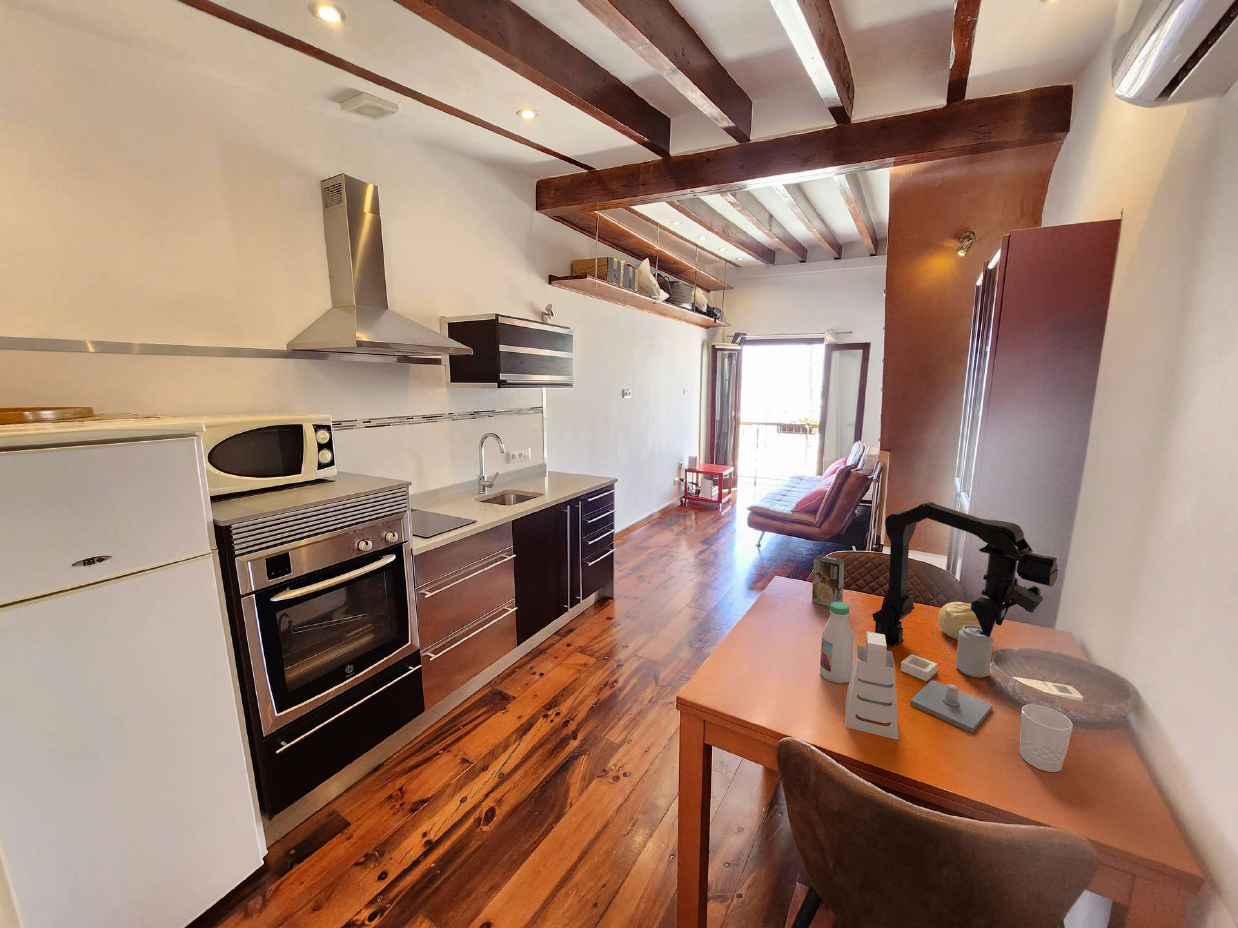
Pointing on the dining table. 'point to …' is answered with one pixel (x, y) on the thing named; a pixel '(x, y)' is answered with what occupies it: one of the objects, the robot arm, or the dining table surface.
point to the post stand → (951, 705)
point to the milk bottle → (837, 645)
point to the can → (974, 652)
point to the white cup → (1044, 737)
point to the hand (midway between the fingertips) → (992, 630)
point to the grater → (873, 688)
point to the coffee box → (828, 580)
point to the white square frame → (919, 667)
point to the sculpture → (956, 618)
